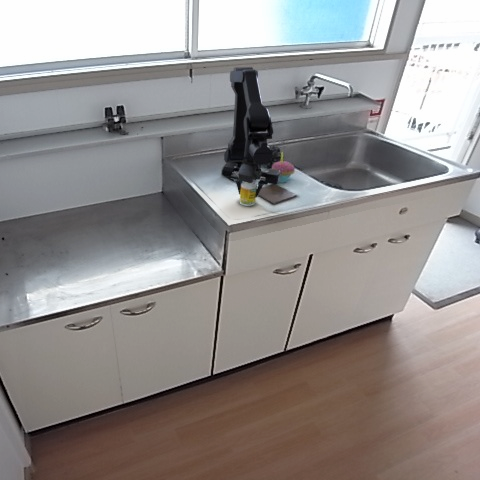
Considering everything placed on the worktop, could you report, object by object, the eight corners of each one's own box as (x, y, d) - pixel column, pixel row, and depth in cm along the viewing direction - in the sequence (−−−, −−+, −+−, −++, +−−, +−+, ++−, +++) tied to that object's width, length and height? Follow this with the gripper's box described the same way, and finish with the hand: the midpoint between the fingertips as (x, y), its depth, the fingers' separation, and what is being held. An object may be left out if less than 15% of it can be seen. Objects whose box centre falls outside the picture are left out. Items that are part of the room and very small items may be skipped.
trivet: (251, 192, 142) (252, 190, 142) (274, 185, 147) (274, 183, 146) (273, 204, 134) (273, 203, 134) (296, 196, 139) (296, 195, 139)
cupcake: (281, 186, 146) (286, 155, 139) (264, 178, 152) (269, 148, 145) (297, 180, 149) (303, 150, 143) (280, 173, 155) (285, 144, 149)
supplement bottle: (245, 197, 139) (248, 172, 133) (258, 202, 135) (261, 177, 130) (236, 202, 136) (238, 177, 130) (248, 208, 132) (252, 182, 127)
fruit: (265, 135, 165) (268, 147, 153) (284, 142, 166) (288, 154, 153) (256, 153, 170) (258, 167, 158) (274, 160, 170) (277, 174, 158)
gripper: (217, 156, 123) (214, 200, 132) (277, 166, 116) (270, 211, 125) (228, 145, 131) (224, 187, 140) (284, 153, 125) (277, 196, 133)
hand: (248, 195), depth 135 cm, fingers closed on supplement bottle, 5 cm apart
